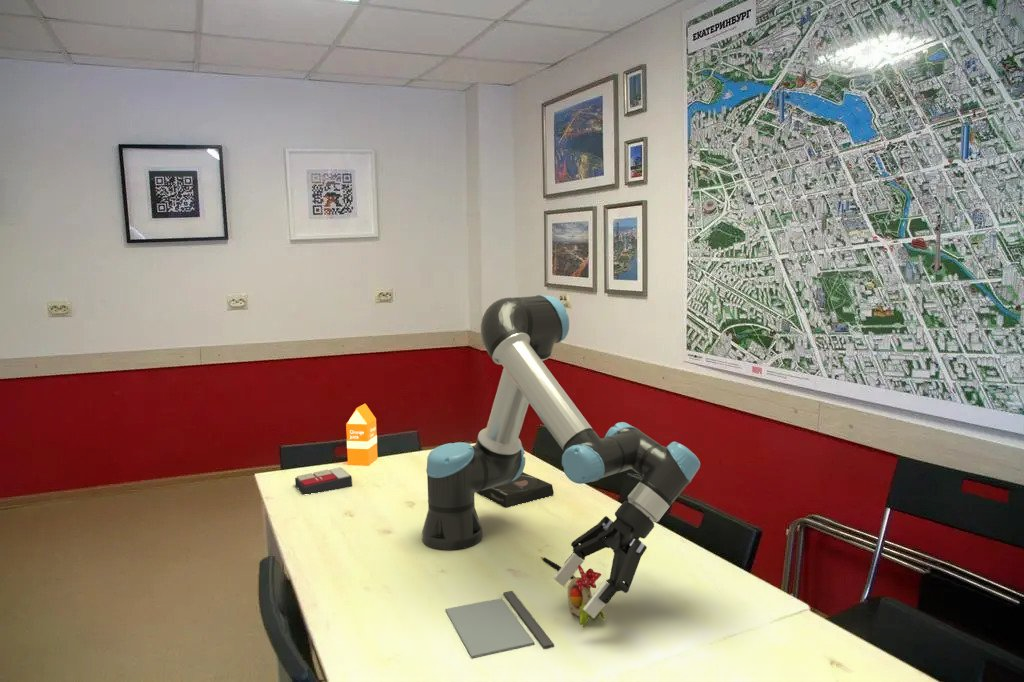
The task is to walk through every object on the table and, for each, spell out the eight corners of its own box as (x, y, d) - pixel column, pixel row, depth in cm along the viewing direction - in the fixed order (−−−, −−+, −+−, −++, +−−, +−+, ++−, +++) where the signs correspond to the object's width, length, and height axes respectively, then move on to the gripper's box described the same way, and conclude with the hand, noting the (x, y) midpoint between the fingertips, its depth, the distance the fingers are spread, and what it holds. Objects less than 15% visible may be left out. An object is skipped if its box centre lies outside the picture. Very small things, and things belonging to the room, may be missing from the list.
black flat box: (553, 497, 207) (553, 484, 207) (505, 509, 198) (505, 495, 197) (522, 482, 221) (521, 470, 220) (475, 493, 211) (475, 481, 211)
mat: (443, 606, 142) (443, 603, 142) (512, 592, 148) (512, 590, 148) (475, 664, 122) (474, 661, 122) (553, 646, 127) (553, 643, 127)
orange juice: (347, 465, 241) (344, 408, 239) (357, 457, 250) (354, 402, 248) (369, 465, 240) (366, 408, 238) (378, 458, 249) (376, 403, 246)
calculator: (294, 475, 220) (341, 465, 227) (295, 488, 221) (342, 477, 228) (303, 484, 211) (351, 473, 218) (304, 498, 211) (353, 487, 219)
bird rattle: (561, 628, 137) (588, 629, 130) (548, 570, 140) (573, 568, 132) (587, 619, 140) (614, 620, 133) (573, 563, 143) (599, 560, 136)
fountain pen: (538, 559, 164) (537, 553, 164) (542, 558, 165) (542, 552, 165) (574, 583, 152) (574, 576, 152) (578, 581, 153) (578, 575, 153)
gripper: (688, 546, 128) (616, 639, 125) (621, 502, 152) (558, 580, 148) (664, 522, 126) (589, 617, 122) (599, 481, 149) (535, 560, 146)
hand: (572, 597), depth 135 cm, fingers open, 13 cm apart
